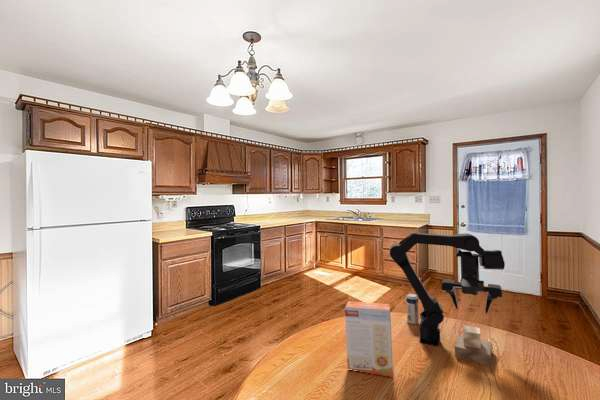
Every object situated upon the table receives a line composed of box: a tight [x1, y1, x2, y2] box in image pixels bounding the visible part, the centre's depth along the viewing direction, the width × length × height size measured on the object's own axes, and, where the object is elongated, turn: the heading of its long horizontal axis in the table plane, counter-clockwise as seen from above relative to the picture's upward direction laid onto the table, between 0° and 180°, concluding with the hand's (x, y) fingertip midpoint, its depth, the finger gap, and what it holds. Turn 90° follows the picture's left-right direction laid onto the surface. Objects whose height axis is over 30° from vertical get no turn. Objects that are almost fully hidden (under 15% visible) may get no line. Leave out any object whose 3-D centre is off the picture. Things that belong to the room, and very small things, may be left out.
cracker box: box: [344, 300, 394, 378], centre depth 93 cm, size 14×6×21 cm, turn 71°
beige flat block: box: [454, 334, 493, 367], centre depth 99 cm, size 10×10×4 cm
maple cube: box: [462, 325, 481, 349], centre depth 100 cm, size 5×5×5 cm
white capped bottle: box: [405, 293, 420, 325], centre depth 126 cm, size 5×5×12 cm
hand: (471, 311), depth 105 cm, fingers open, 9 cm apart
